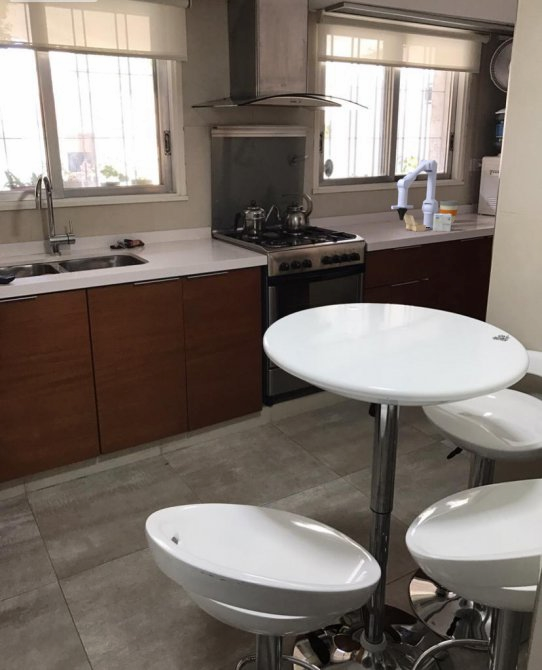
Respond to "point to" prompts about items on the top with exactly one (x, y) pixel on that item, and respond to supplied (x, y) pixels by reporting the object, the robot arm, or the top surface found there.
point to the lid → (409, 220)
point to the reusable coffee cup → (449, 208)
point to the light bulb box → (441, 222)
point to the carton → (416, 227)
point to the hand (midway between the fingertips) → (401, 220)
